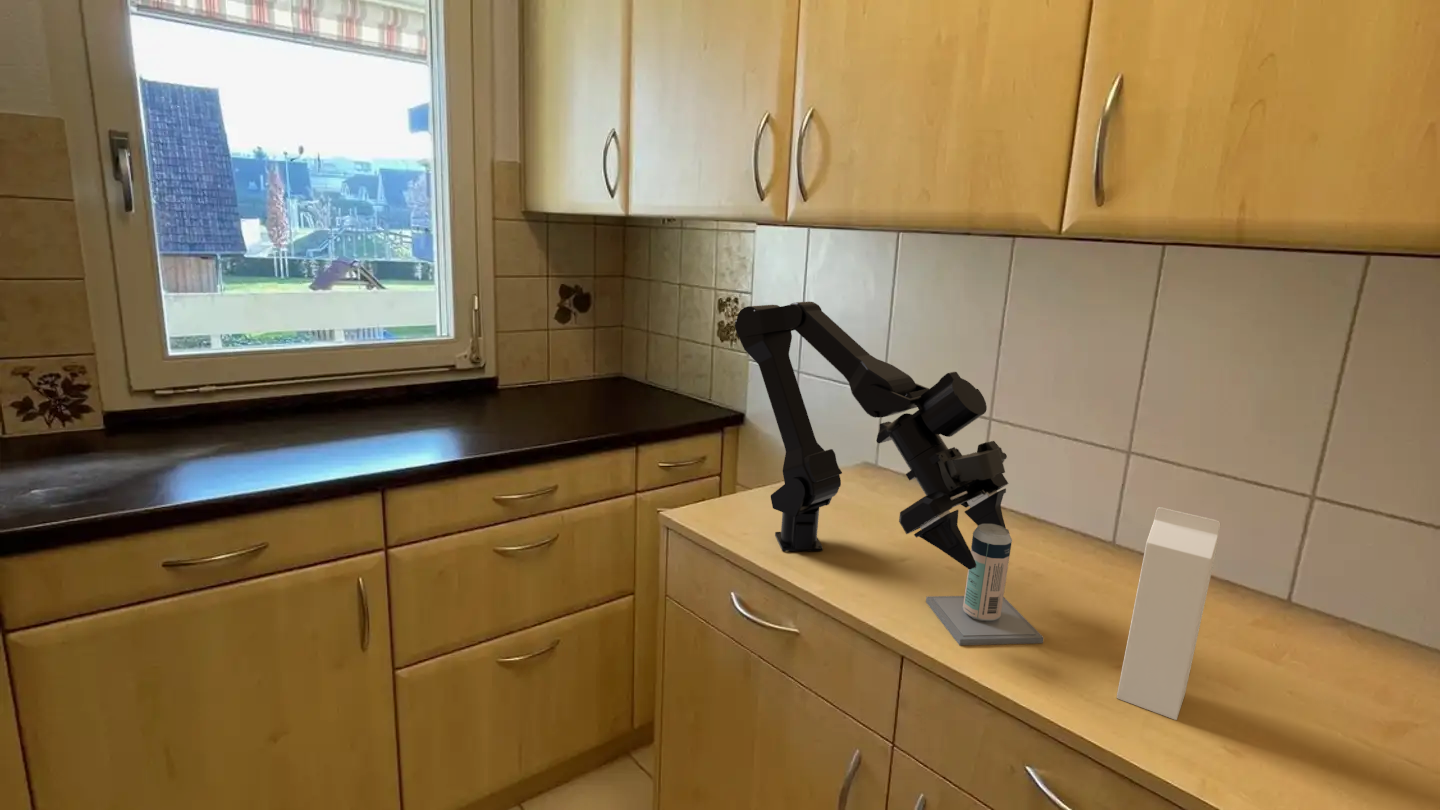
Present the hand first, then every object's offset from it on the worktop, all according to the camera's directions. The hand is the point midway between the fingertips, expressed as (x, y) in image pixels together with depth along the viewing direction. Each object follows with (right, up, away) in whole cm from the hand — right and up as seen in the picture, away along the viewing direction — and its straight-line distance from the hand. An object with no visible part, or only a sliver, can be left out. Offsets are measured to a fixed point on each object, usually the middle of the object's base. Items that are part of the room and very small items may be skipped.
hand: (990, 558), depth 100 cm
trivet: (-1, -9, +2) cm, 9 cm away
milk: (+13, -13, -13) cm, 23 cm away
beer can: (-1, -8, +2) cm, 8 cm away
